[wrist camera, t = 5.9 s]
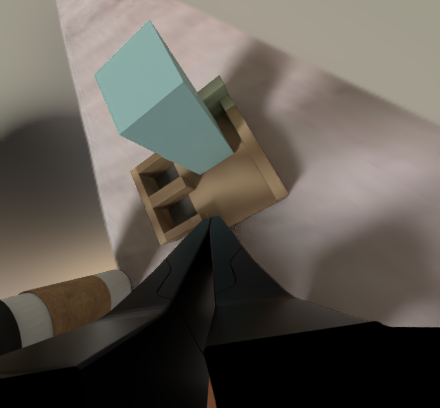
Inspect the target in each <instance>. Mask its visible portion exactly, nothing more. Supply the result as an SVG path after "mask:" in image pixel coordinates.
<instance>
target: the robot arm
mask: <svg viewBox="0 0 440 408" xmlns="http://www.w3.org/2000/svg"><path fill="white" fill-rule="evenodd" d="M214 302H215V310H214ZM209 377H210V382H211V386H212V390H213V394H214V398H215V403H216V407H217V408H440V327H389V326H385V325H382V324H381V323H380V322H378V321H369V320H364V319H359V318H355V317H352V316H348V315H345V314H343V313H340V312H337V311H334V310H331V309H328V308H325V307H322V306H319V305H316V304H313V303H310V302H307V301H304V300H301V299H299V298H297V297H295V296H293V295H291V294H290V293H289V292H287V291H286V290H285V289H284V288H283V287H282V286H281V285H280V284H279V283H277V282H276V281H275V280H274V279H273V278H272V277H271V276H270V275H269V274H268V273H267V272H266V271H265V270H264V269H263V268H262V267H261V266H260V265H259V264H258V263H257V262H256V261H255V260H254V259H253V258H252V257H251V256H250V254H249V253H248V252H247V251H246V249H245V248H244V247H243V245H242V244H241V243H240V241H239V240H238V239H237V237H236V236H235V235H234V233H233V232H232V231H231V229H230V228H229V227H228V226H227V224H226V223H225V222H224V220H223V219H222V218H221V216H220V215H217V216H212V217H205V218H203V219H202V220H201V221H200V223H199V224H198V225H197V226H196V227H195V228H194V229H193V230H192V231H191V232H190V233H189V234H188V235H187V236H186V237H185V238H184V240H183V241H182V242H181V243H180V244H179V245H178V246H177V247H176V248H175V249H174V250H173V251H172V252H171V253H170V254H169V255H168V257H167V258H166V259H165V260H164V261H163V262H162V263H161V264H160V265H159V266H158V267H157V268H156V269H155V270H154V271H153V272H152V273H151V274H150V275H149V276H148V277H147V278H146V279H145V280H144V281H143V282H142V283H141V284H139V285H138V286H137V287H136V288H135V289H134V290H133V291H132V292H131V293H130V294H128V295H127V296H126V297H125V298H124V299H123V300H122V301H121V302H120V303H119V304H117V305H116V306H115V307H114V308H113V309H112V310H111V311H109V312H108V313H107V314H105V315H104V316H102V317H101V318H99V319H98V320H96V321H94V322H92V323H89V324H87V325H84V326H81V327H79V328H76V329H73V330H70V331H68V332H65V333H62V334H59V335H57V336H54V337H51V338H48V339H46V340H43V341H40V342H37V343H35V344H32V345H29V346H26V347H24V348H21V349H18V350H15V351H13V352H10V353H7V354H4V355H1V356H0V408H207V401H208V387H209Z"/></svg>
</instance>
